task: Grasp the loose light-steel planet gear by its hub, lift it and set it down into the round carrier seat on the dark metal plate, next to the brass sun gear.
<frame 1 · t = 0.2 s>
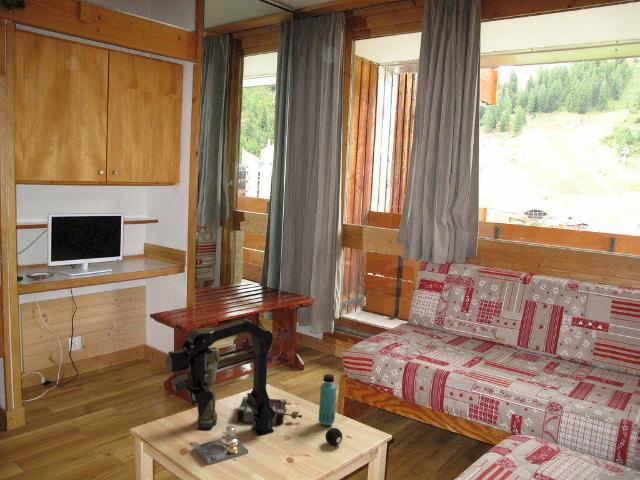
hand: (196, 410, 188), 14 cm above the table, tool pointing down, fingers open, 9 cm apart
mechanical leg: (207, 423, 209), on the table
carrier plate: (220, 451, 189), on the table
billiard ball: (333, 445, 198), on the table
beverage bottle: (326, 425, 213), on the table
machine vise: (270, 417, 218), on the table
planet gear: (230, 442, 193), point 1 cm above the table, touching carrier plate
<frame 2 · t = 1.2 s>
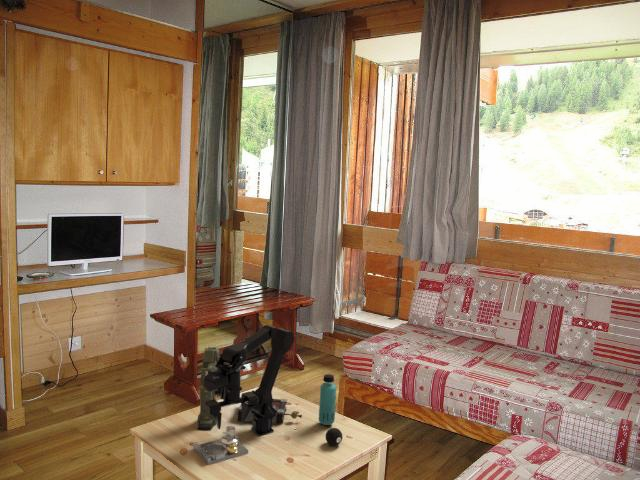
hand: (230, 425, 192), 7 cm above the table, tool pointing down, fingers open, 9 cm apart
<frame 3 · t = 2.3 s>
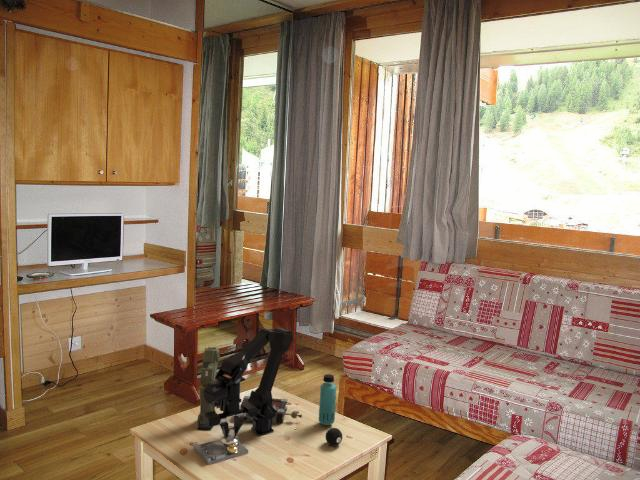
hand: (230, 437, 193), 3 cm above the table, tool pointing down, fingers closed on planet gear, 3 cm apart
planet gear: (230, 442, 193), point 1 cm above the table, touching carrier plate, gripper
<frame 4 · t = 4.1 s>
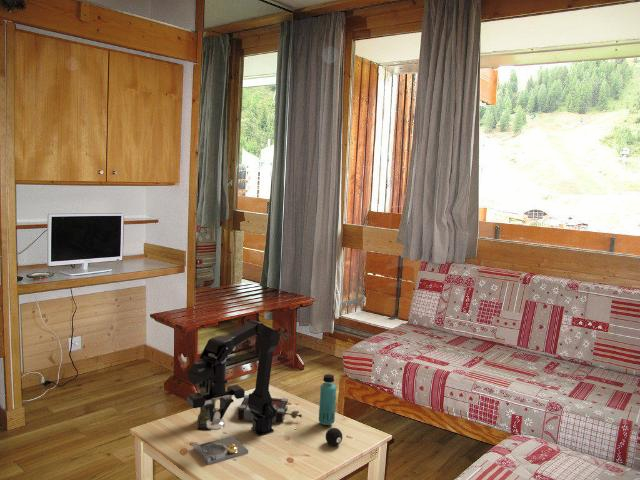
hand: (215, 420, 184), 13 cm above the table, tool pointing down, fingers closed on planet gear, 3 cm apart
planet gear: (215, 425, 185), point 11 cm above the table, touching gripper
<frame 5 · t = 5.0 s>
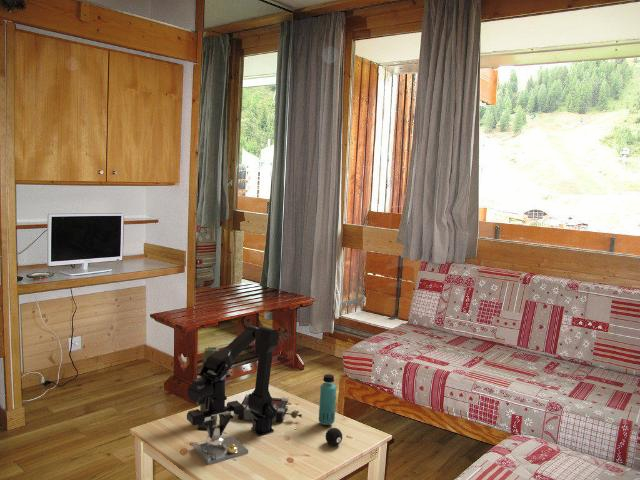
hand: (215, 436, 185), 7 cm above the table, tool pointing down, fingers closed on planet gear, 3 cm apart
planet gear: (215, 441, 185), point 5 cm above the table, touching gripper
when the fingers open (4 cm above the table, at t = 5.8 s): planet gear stays where it is, resting on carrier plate.
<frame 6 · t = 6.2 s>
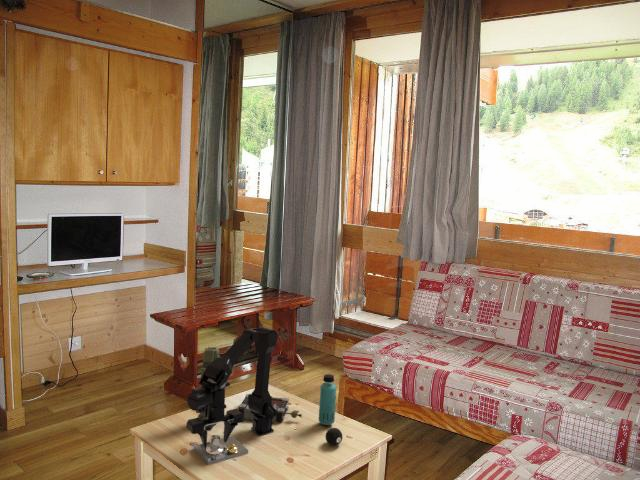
hand: (214, 444, 185), 4 cm above the table, tool pointing down, fingers open, 7 cm apart
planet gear: (214, 452, 186), point 1 cm above the table, touching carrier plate
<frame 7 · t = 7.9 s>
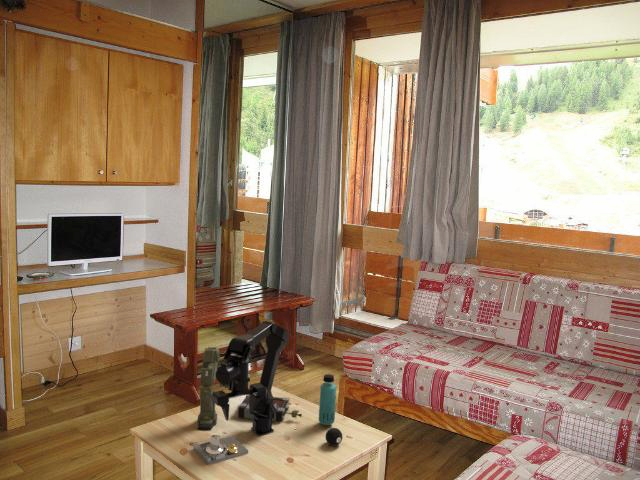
hand: (238, 417, 189), 12 cm above the table, tool pointing down, fingers open, 9 cm apart
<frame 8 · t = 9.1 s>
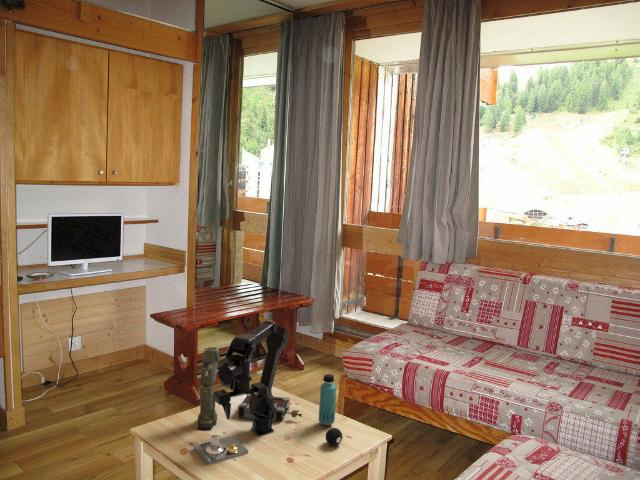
hand: (240, 416, 189), 12 cm above the table, tool pointing down, fingers open, 9 cm apart
at the end: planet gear 0.0 cm from the target spot on the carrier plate, point 1.0 cm above the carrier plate's base; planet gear tilted 0°; the gripper is holding nothing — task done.
